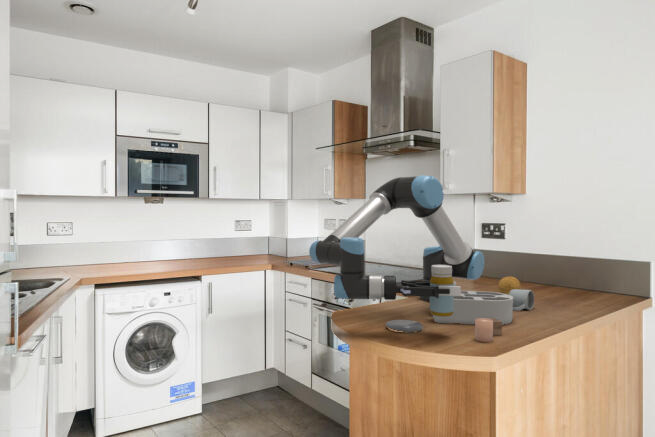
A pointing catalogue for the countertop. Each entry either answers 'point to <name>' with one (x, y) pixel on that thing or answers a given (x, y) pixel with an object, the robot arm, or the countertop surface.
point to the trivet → (404, 325)
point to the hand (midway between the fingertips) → (458, 288)
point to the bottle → (443, 303)
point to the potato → (508, 284)
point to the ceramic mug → (522, 299)
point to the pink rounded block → (484, 329)
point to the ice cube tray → (479, 307)
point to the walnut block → (496, 326)
